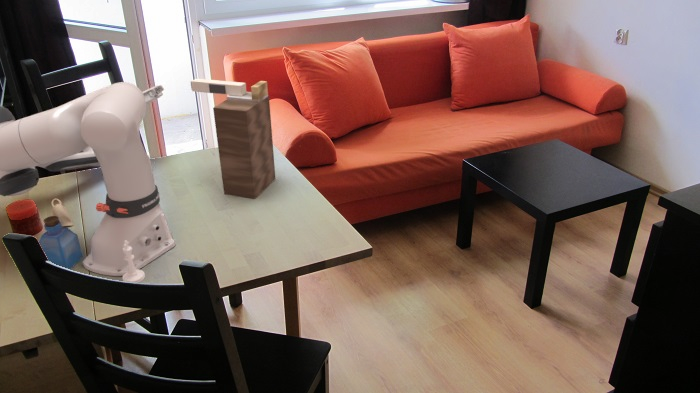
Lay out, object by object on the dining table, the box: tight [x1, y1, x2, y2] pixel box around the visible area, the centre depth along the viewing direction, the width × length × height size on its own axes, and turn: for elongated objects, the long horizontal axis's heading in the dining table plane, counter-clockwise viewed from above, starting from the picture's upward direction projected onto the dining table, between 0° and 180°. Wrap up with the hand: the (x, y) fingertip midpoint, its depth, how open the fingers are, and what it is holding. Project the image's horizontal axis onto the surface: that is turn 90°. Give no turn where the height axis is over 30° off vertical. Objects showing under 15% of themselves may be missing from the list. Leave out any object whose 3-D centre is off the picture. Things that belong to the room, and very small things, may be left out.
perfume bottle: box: [38, 215, 84, 270], centre depth 132 cm, size 6×6×12 cm
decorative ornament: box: [50, 198, 74, 227], centre depth 152 cm, size 4×8×5 cm, turn 30°
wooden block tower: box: [212, 80, 276, 200], centre depth 163 cm, size 14×10×31 cm
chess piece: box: [121, 240, 146, 283], centre depth 127 cm, size 5×5×10 cm
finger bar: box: [190, 78, 248, 96], centre depth 162 cm, size 3×16×3 cm, turn 71°
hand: (152, 92), depth 171 cm, fingers open, 8 cm apart
